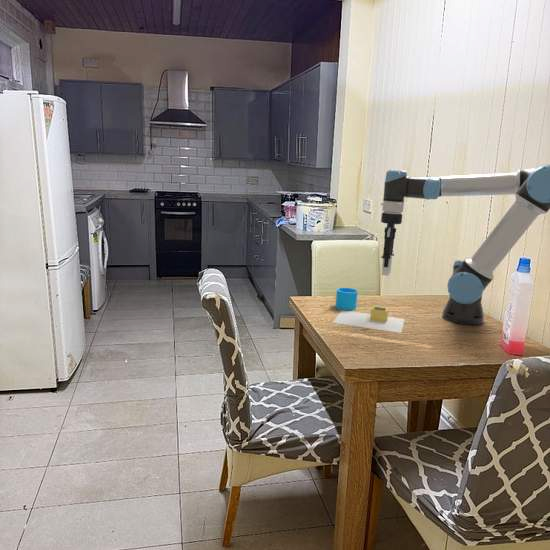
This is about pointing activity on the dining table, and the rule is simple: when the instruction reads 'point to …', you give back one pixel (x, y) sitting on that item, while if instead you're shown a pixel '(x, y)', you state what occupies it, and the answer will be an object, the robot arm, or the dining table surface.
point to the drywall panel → (369, 321)
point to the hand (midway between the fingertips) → (385, 273)
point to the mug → (346, 298)
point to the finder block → (379, 313)
